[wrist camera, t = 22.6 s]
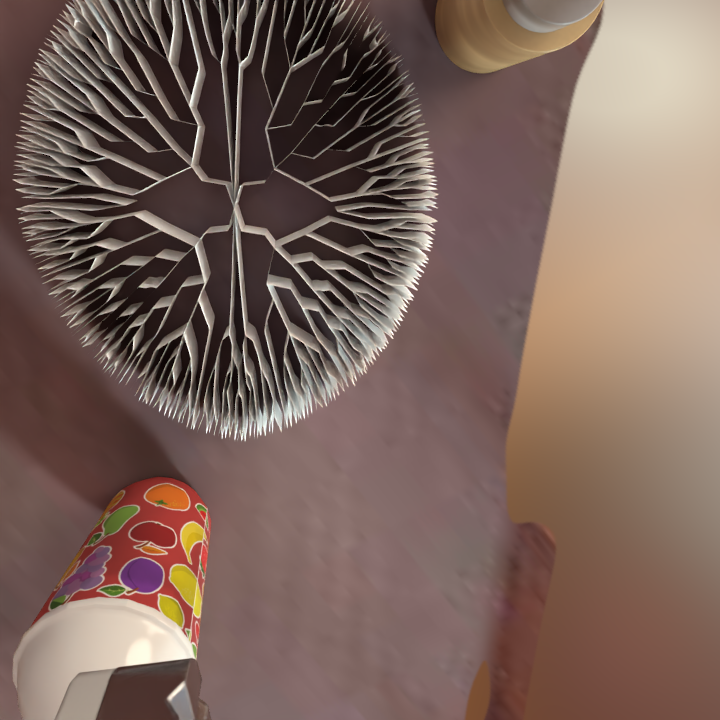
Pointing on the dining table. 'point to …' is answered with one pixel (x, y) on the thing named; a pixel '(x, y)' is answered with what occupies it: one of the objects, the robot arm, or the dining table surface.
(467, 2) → the tan bottle
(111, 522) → the smoothie
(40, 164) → the spiky fractal disc
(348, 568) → the dining table surface
